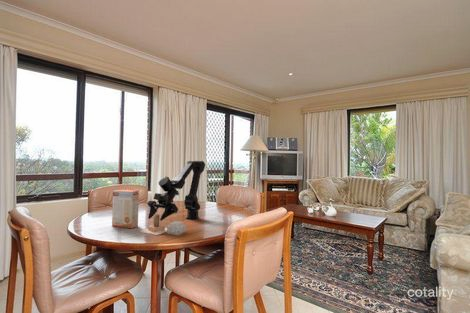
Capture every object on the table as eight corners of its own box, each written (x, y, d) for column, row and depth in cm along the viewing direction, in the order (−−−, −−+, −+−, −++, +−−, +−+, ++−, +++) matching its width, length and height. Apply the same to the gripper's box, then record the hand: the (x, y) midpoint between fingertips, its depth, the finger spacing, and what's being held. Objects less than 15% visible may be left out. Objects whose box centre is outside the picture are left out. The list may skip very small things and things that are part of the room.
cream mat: (139, 232, 134) (139, 231, 134) (155, 226, 145) (155, 226, 145) (157, 235, 130) (157, 234, 130) (171, 229, 141) (172, 228, 141)
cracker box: (138, 226, 146) (139, 190, 146) (131, 228, 140) (132, 191, 140) (119, 223, 150) (120, 189, 151) (111, 226, 145) (112, 190, 145)
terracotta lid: (147, 229, 138) (148, 214, 138) (158, 227, 142) (159, 213, 142) (153, 232, 133) (153, 217, 133) (164, 230, 138) (165, 215, 138)
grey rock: (166, 233, 133) (167, 223, 133) (175, 230, 139) (175, 220, 139) (177, 235, 130) (178, 224, 130) (185, 231, 136) (185, 221, 136)
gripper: (150, 186, 145) (134, 208, 136) (175, 188, 137) (160, 212, 127) (159, 198, 152) (145, 220, 142) (184, 201, 144) (170, 224, 134)
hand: (154, 219), depth 136 cm, fingers open, 8 cm apart
